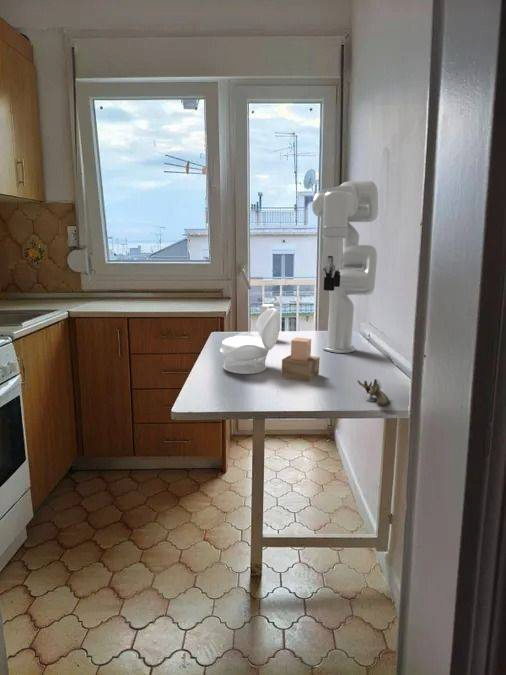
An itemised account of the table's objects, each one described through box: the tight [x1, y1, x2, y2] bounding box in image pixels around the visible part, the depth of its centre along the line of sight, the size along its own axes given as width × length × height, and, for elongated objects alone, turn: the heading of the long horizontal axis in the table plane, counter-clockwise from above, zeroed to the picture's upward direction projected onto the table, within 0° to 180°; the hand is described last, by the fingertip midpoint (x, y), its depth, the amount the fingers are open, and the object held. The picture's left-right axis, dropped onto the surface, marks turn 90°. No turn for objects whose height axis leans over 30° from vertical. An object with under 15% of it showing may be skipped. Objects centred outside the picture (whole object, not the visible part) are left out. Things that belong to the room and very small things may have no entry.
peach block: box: [290, 337, 312, 361], centre depth 139 cm, size 5×5×6 cm
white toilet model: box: [219, 308, 281, 375], centre depth 147 cm, size 20×20×20 cm
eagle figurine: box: [357, 378, 390, 408], centre depth 119 cm, size 8×7×9 cm
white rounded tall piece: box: [259, 303, 277, 338], centre depth 192 cm, size 7×7×15 cm
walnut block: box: [281, 354, 321, 383], centre depth 141 cm, size 9×9×6 cm
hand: (331, 288), depth 142 cm, fingers open, 9 cm apart
